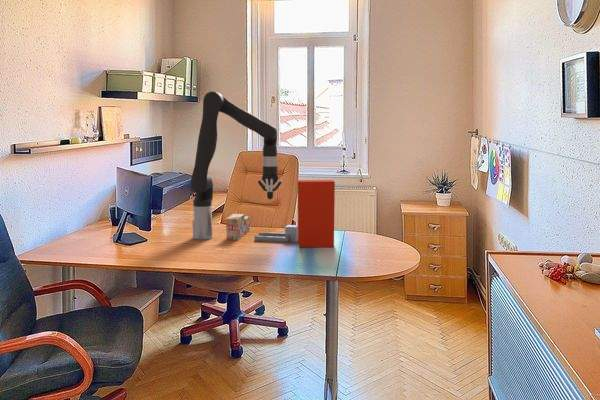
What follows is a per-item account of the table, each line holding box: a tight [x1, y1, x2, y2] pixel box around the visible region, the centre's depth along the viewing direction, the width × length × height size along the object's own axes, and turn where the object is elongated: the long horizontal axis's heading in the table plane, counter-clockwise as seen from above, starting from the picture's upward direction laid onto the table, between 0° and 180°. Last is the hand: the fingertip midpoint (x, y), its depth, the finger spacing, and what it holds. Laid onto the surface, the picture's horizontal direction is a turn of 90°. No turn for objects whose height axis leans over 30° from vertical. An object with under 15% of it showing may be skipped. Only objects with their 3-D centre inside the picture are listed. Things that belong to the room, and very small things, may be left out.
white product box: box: [225, 213, 250, 241], centre depth 255 cm, size 21×6×12 cm, turn 171°
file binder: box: [297, 179, 336, 248], centre depth 236 cm, size 8×17×32 cm, turn 93°
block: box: [284, 224, 298, 243], centre depth 244 cm, size 6×6×7 cm
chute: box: [253, 231, 291, 244], centre depth 246 cm, size 18×9×5 cm, turn 80°
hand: (270, 199), depth 248 cm, fingers closed
